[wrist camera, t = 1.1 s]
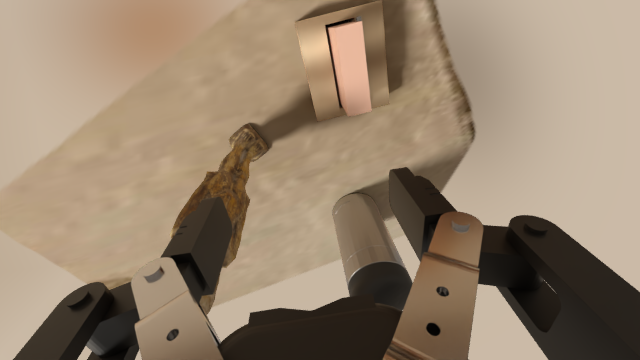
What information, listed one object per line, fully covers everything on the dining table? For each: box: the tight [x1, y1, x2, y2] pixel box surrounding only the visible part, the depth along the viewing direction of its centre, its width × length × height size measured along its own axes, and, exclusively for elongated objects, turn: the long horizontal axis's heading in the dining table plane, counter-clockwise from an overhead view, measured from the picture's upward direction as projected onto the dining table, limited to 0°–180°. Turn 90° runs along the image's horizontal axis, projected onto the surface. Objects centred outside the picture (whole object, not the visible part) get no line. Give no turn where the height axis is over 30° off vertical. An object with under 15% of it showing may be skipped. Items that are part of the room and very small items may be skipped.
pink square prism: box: [326, 21, 372, 117], centre depth 34 cm, size 10×3×10 cm, turn 12°
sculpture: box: [170, 124, 268, 315], centre depth 30 cm, size 7×6×30 cm
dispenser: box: [295, 0, 389, 122], centre depth 36 cm, size 13×11×5 cm
